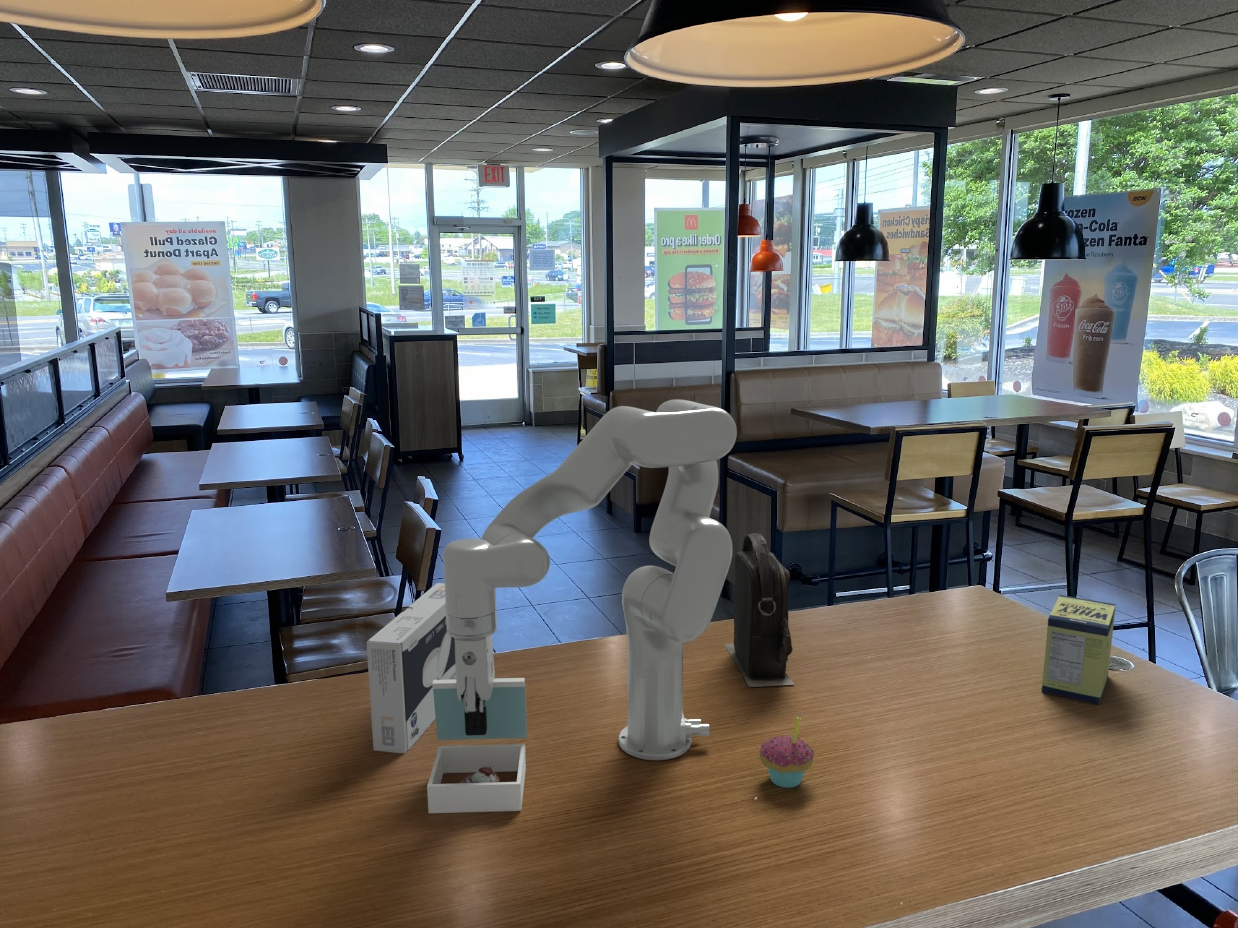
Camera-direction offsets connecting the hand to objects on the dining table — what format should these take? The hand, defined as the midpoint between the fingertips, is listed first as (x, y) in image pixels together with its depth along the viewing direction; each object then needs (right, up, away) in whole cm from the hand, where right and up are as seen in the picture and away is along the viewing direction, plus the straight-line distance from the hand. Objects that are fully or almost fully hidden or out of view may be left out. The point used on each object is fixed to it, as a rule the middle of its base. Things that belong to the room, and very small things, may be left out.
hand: (476, 732), depth 142 cm
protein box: (+112, -2, +40) cm, 119 cm away
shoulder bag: (+51, 0, +50) cm, 71 cm away
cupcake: (+49, -10, +6) cm, 50 cm away
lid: (0, +2, +6) cm, 6 cm away
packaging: (-14, -5, +30) cm, 33 cm away
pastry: (0, -11, +2) cm, 11 cm away
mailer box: (0, -10, +3) cm, 11 cm away
